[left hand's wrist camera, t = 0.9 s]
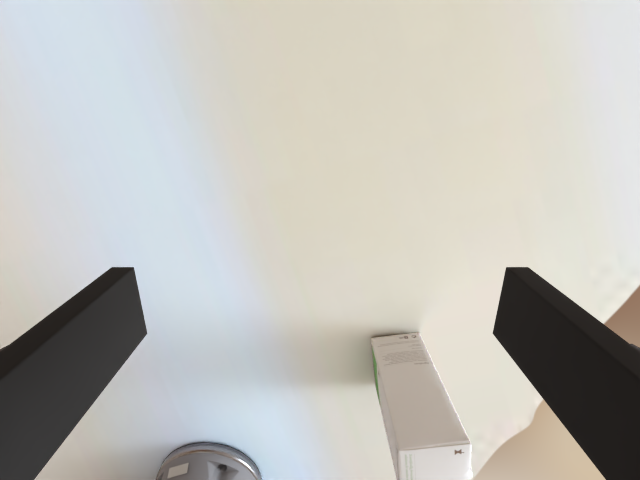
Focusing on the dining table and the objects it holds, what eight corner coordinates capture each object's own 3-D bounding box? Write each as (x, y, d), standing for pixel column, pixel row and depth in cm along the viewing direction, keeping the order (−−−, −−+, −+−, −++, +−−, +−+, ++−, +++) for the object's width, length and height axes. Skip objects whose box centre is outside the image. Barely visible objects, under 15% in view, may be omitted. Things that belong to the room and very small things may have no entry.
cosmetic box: (370, 335, 44) (395, 447, 29) (423, 329, 44) (475, 439, 29) (375, 388, 47) (400, 513, 32) (424, 382, 46) (473, 507, 32)
